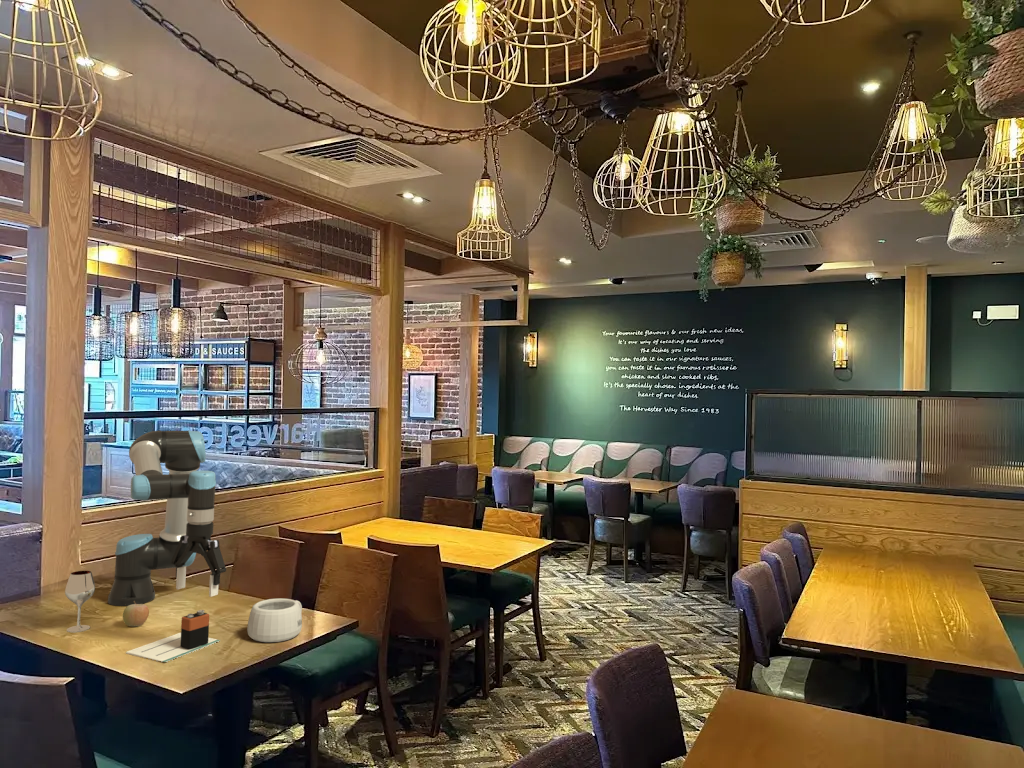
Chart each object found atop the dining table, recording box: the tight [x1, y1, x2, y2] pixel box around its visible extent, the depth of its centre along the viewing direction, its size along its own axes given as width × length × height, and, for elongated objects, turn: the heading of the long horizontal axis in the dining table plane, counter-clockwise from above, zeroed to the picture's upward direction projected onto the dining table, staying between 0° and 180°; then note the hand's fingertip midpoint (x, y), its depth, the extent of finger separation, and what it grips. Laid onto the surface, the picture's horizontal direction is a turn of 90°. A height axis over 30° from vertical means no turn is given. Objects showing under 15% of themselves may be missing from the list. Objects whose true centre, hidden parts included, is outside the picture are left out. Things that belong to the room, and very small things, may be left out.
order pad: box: [125, 632, 221, 663], centre depth 207 cm, size 20×16×1 cm
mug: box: [246, 598, 303, 643], centre depth 223 cm, size 21×17×10 cm
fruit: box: [122, 601, 150, 627], centre depth 225 cm, size 8×7×8 cm
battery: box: [180, 609, 210, 649], centre depth 208 cm, size 4×7×10 cm, turn 149°
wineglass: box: [64, 570, 96, 633], centre depth 220 cm, size 8×8×18 cm
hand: (196, 591), depth 209 cm, fingers open, 13 cm apart
